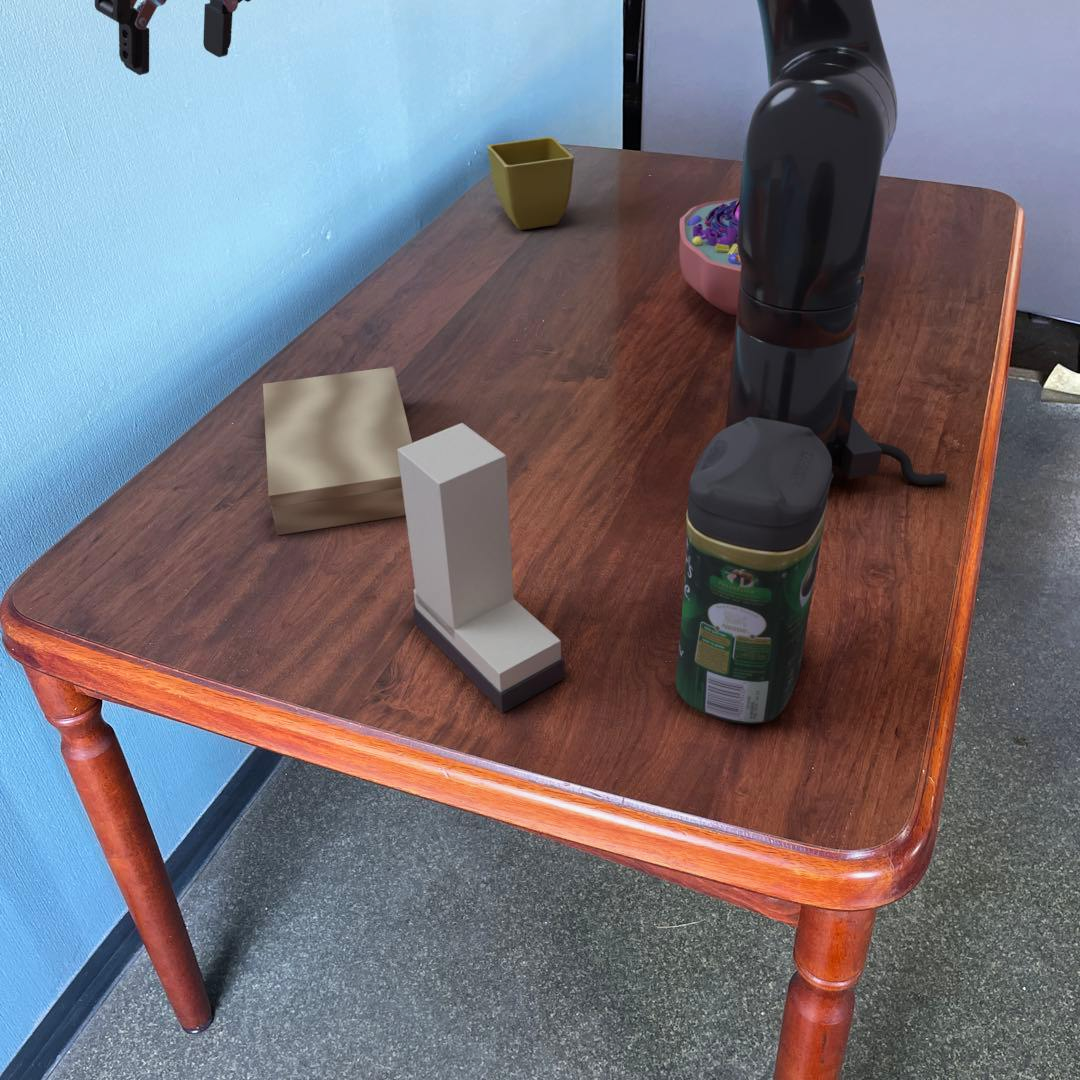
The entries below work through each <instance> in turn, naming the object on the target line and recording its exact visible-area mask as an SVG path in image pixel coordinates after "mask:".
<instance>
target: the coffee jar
mask: <svg viewBox="0 0 1080 1080" xmlns="http://www.w3.org/2000/svg"><path fill="white" fill-rule="evenodd" d="M832 478H833V473H832V459H831V456H830V453H829V451H828V449H827V448H826V446H825V445H824V444H823V442H822V441H821V440H820V439H819V438H818V437H817V436H816V435H815V434H814V433H813V431H812V430H811V429H809V428H806V427H802V426H798V425H794V424H789V423H785V422H780V421H774V420H768V419H762V418H755V417H748V418H746V419H745V420H744V421H741V422H738V423H736V424H734V425H731V426H729V427H727V428H726V427H725V428H724V429H722V430H720V431H719V432H718V433H716V434H715V436H713V437H712V438H711V440H709V443H708V444H707V446H706V447H705V449H704V450H703V451H702V452H701V454H700V456H699V458H698V459H697V462H696V464H695V466H694V468H693V470H692V474H691V475H690V478H689V483H688V498H687V508H686V517H685V519H686V552H685V553H686V554H685V569H684V582H683V594H682V605H681V606H682V608H681V619H680V629H679V638H678V639H679V641H678V652H677V661H676V673H675V686H676V690H677V693H678V695H679V696H680V697H681V699H682V700H683V701H684V702H685V703H686V704H687V705H689V706H690V707H692V708H693V709H695V710H697V711H699V712H700V713H702V714H704V715H706V716H708V717H711V718H714V719H717V720H721V721H723V722H727V723H732V724H742V725H759V724H765V723H767V722H768V723H769V722H771V721H773V720H774V719H776V718H777V717H778V716H779V715H780V714H781V713H782V712H783V711H784V710H785V708H786V707H787V705H788V703H789V701H790V699H791V697H792V695H793V693H794V690H795V687H796V685H797V682H798V679H799V676H800V673H801V672H800V671H801V667H802V662H803V657H804V656H803V655H804V650H805V644H806V637H807V630H808V624H809V623H808V622H809V617H810V609H811V603H812V597H813V593H814V592H813V591H814V587H815V581H816V575H817V569H818V562H819V557H820V550H821V544H822V538H823V532H824V526H825V522H826V521H825V520H826V513H827V507H828V502H829V495H830V489H831V485H830V483H831V480H832Z"/></svg>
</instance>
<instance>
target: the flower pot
mask: <svg viewBox="0 0 1080 1080" xmlns="http://www.w3.org/2000/svg"><path fill="white" fill-rule="evenodd" d="M487 153H488V160H489V165H490V170H491V176H492V182H493V186H494V189H495V192H496V196H497V199H498V200H499V202H500V204H501V206H502V208H503V210H504V212H505V213H506V215H507V217H508V218H509V219H510V221H511V223H513V224H514V225H515V227H516V228H517V230H521V231H523V230H531V229H535V228H541V227H549V226H555V225H557V224H558V223H559V222H560V220H561V218H562V217H563V216H564V213H565V211H566V209H567V207H568V205H569V202H570V196H571V190H572V182H573V174H574V173H573V172H574V164H575V163H574V161H575V156H574V155H573V154H572V153H571V152H569V151H568V150H567V149H566V148H565V147H564V146H563V145H562V144H561V143H560V142H559V141H558V139H556V138H555V137H553V136H547V137H546V136H545V137H538V138H531V139H523V140H515V141H508V142H500V143H493V144H488V145H487Z"/></svg>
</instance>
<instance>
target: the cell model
mask: <svg viewBox="0 0 1080 1080" xmlns="http://www.w3.org/2000/svg"><path fill="white" fill-rule="evenodd" d="M739 204H740V197H734V198H728V199H723V200H722V199H721V200H713V201H707V202H702V203H700V204H697V205H695V206H693V207H691V208H690V209H689V210H688V211H687V212H686V213H684V214H683V216H682V217H680V218H679V241H678V243H679V244H678V259H679V269H680V272H681V276H682V278H683V280H684V281H685V282H686V283H687V284H688V285H689V286H690V287H691V288H692V289H693V290H694V291H695V292H696V293H698V295H699V296H701V297H702V298H703V300H706V302H708V303H709V304H711V305H712V306H713V307H715V308H716V309H718V310H719V311H721V312H724V313H725V314H727V315H731V316H735V317H736V316H737V305H738V295H739V285H740V272H741V260H740V257H739V253H738V245H737V236H738V220H739Z"/></svg>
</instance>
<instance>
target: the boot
mask: <svg viewBox="0 0 1080 1080" xmlns="http://www.w3.org/2000/svg"><path fill="white" fill-rule="evenodd" d="M412 442H413V443H411V444H408V445H406V446H404V447H401V448H399V449H397V451H398V458H399V466H400V474H401V482H402V489H403V497H404V505H405V513H406V516H405V519H406V527H407V534H408V542H409V550H410V558H411V566H412V573H413V574H412V575H413V581H414V582H413V583H414V589H413V590H412V591H413V597H414V606H413V607H412V609H413V616H414V623H415V626H416V627H417V628H418V629H419V630H420V631H421V632H422V633H423V634H424V635H425V636H426V637H427V638H428V639H429V640H430V641H431V642H432V644H433V645H435V646H436V648H437V649H438V650H439V651H441V652H442V653H443V655H445V657H446V658H447V659H449V661H450V662H451V663H452V664H453V665H454V666H455V667H457V669H458V670H459V671H460V672H461V673H462V674H463V675H464V676H465V677H466V678H467V679H468V680H469V681H470V682H472V684H473V686H475V687H476V688H477V689H478V690H479V691H480V693H482V694H483V695H484V696H485V697H486V698H487V699H488V700H489V701H490V702H491V703H492V705H494V706H495V707H496V708H497V709H498V711H500V712H501V713H502V714H504V713H506V712H507V711H509V710H512V709H513V708H515V707H516V706H518V705H520V704H522V703H524V702H526V701H527V700H529V699H531V698H533V697H535V696H536V695H538V694H539V693H542V692H544V691H545V690H547V689H548V688H550V687H552V686H553V685H555V684H557V683H559V682H561V681H562V680H564V679H565V660H564V658H563V657H562V641H561V639H560V638H558V636H556V635H555V633H553V632H552V631H551V630H550V629H548V627H546V626H545V625H544V624H543V623H542V622H540V620H539V619H537V618H536V617H535V616H534V615H533V614H531V613H530V612H529V611H528V610H527V609H526V608H525V607H523V606H522V605H521V604H520V603H519V602H518V601H517V600H516V599H515V595H514V592H515V591H514V575H513V558H512V557H513V556H512V554H513V553H512V539H511V537H512V536H511V519H510V518H511V517H510V501H509V484H508V483H509V482H508V464H507V455H506V454H505V453H504V452H503V451H501V450H500V449H498V448H497V447H495V446H494V445H493V444H492V443H490V442H489V441H488V440H486V439H485V438H483V437H482V436H481V435H480V434H478V433H477V432H476V431H475V430H473V429H471V428H470V427H469V426H467V425H466V424H465V423H463V422H461V423H457V424H455V425H453V426H451V427H448V428H446V429H442V430H441V431H438V432H436V433H433V434H430V435H428V436H426V437H423V438H421V439H418V440H416V441H412Z"/></svg>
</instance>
